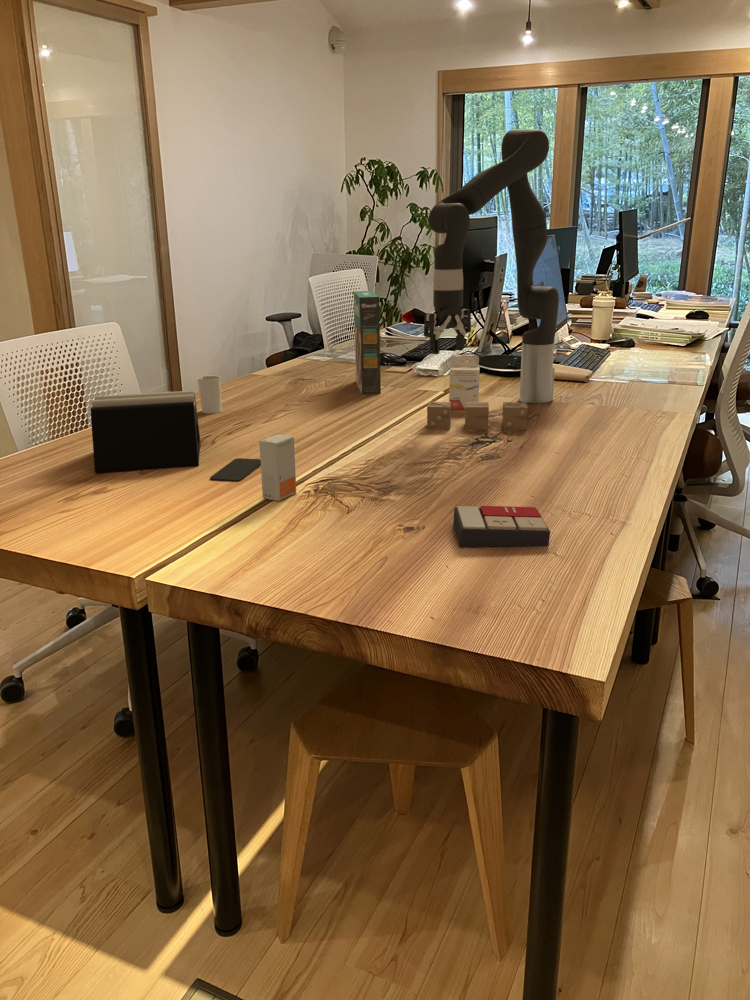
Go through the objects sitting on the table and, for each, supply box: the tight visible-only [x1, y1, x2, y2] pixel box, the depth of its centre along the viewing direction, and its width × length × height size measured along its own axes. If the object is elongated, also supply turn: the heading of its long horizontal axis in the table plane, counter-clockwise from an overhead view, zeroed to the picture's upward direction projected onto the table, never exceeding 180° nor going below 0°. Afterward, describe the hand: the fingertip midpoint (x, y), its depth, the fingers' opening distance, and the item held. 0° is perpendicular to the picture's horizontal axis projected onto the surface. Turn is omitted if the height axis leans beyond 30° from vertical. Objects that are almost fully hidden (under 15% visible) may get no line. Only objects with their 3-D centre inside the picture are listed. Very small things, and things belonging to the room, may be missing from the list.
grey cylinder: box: [197, 374, 223, 414], centre depth 228 cm, size 7×7×10 cm
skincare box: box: [259, 433, 297, 502], centre depth 155 cm, size 6×4×12 cm
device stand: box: [90, 390, 201, 474], centre depth 184 cm, size 22×22×15 cm
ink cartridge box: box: [448, 355, 481, 410], centre depth 225 cm, size 9×5×15 cm, turn 84°
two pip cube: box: [502, 401, 529, 431], centre depth 205 cm, size 6×6×6 cm
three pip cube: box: [426, 401, 452, 430], centre depth 207 cm, size 6×6×6 cm
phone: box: [209, 457, 261, 483], centre depth 174 cm, size 7×1×15 cm
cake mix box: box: [353, 290, 382, 395], centre depth 253 cm, size 22×6×30 cm, turn 6°
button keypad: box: [452, 505, 551, 549], centre depth 135 cm, size 11×4×15 cm
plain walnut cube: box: [464, 401, 490, 431], centre depth 206 cm, size 6×6×6 cm
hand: (447, 352), depth 203 cm, fingers open, 8 cm apart
